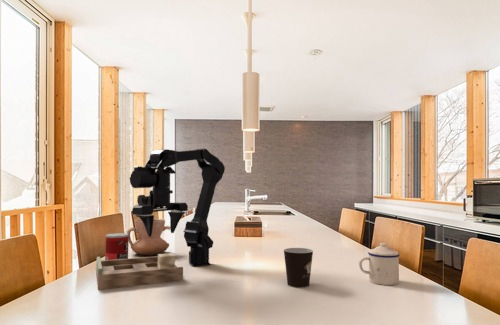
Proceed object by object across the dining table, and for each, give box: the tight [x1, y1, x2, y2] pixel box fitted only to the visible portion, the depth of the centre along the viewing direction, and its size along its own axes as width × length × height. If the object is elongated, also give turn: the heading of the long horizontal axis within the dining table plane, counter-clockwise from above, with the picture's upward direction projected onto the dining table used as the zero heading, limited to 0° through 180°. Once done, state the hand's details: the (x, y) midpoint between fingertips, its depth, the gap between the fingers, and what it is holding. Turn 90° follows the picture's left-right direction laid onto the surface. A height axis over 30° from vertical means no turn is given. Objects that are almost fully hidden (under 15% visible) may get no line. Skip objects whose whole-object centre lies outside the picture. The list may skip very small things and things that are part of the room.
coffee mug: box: [283, 247, 314, 288], centre depth 110 cm, size 12×9×10 cm
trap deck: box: [95, 255, 184, 291], centre depth 117 cm, size 24×20×6 cm
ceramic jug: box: [126, 218, 171, 256], centre depth 155 cm, size 18×14×14 cm
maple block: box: [157, 252, 176, 269], centre depth 117 cm, size 4×4×4 cm
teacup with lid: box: [358, 242, 400, 286], centre depth 113 cm, size 12×9×12 cm
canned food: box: [104, 232, 129, 260], centre depth 133 cm, size 8×8×11 cm
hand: (161, 234), depth 122 cm, fingers open, 9 cm apart
